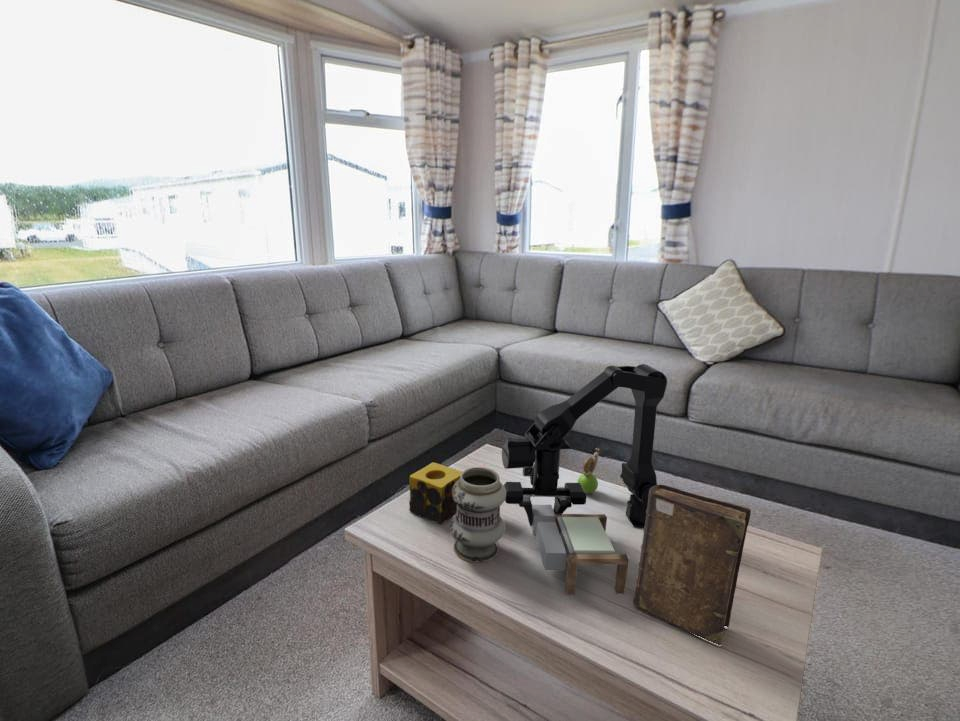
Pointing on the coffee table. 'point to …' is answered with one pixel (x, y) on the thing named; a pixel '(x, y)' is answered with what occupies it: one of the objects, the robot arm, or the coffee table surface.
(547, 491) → the robot arm
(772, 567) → the coffee table surface
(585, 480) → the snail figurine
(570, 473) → the coffee table surface
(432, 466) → the candle
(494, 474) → the apothecary jar
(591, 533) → the trapdoor
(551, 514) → the slate grey block
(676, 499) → the book
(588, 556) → the walnut frame
